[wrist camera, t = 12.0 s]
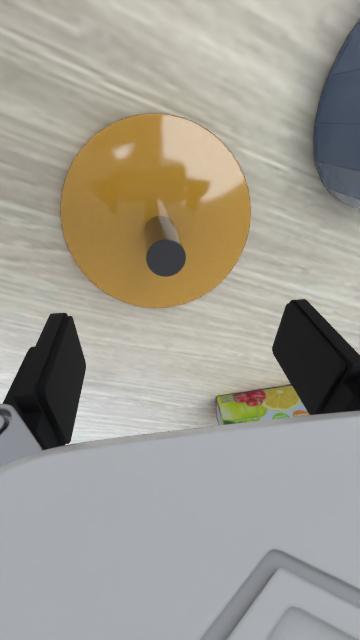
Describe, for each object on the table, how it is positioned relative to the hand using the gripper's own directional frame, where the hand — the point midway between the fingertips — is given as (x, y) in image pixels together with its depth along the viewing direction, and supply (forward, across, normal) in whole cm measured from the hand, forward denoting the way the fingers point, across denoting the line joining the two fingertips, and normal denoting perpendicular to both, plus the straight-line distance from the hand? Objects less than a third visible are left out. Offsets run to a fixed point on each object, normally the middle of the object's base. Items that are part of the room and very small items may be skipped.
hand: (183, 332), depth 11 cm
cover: (+12, 0, 0) cm, 12 cm away
